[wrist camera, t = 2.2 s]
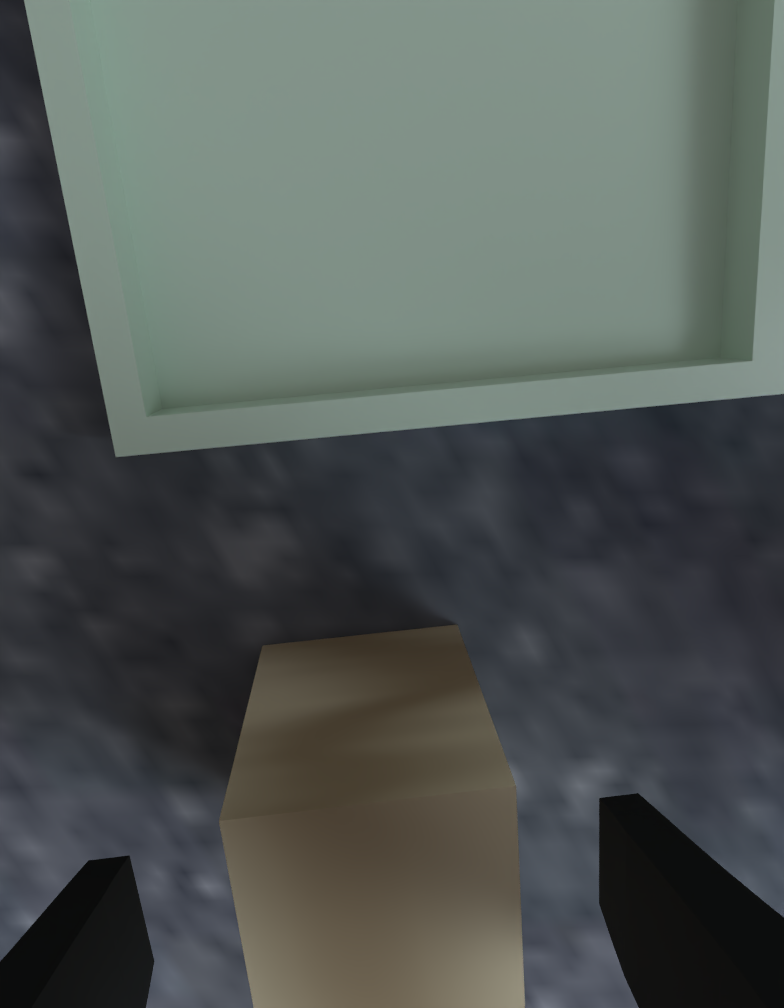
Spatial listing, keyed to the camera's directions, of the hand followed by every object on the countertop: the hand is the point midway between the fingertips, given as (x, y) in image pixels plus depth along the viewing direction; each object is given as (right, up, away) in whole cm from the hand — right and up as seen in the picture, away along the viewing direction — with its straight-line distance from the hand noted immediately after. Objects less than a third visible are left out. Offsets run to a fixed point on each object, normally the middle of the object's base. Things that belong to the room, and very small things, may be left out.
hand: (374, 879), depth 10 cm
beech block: (0, +1, +4) cm, 4 cm away
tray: (+1, +13, +1) cm, 13 cm away
